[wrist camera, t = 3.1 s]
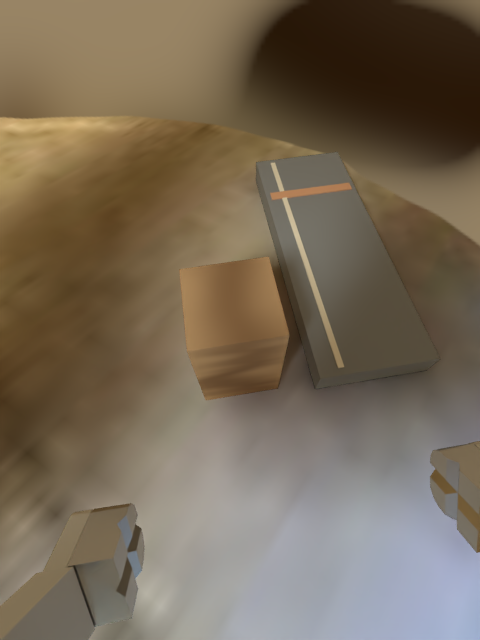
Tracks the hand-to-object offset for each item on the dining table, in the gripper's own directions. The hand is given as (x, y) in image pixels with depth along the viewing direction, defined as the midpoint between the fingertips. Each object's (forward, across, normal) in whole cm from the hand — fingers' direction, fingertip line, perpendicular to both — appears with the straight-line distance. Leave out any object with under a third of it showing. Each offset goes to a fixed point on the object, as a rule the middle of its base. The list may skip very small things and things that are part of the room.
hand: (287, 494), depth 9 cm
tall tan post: (+15, +1, +2) cm, 15 cm away
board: (+21, -8, -3) cm, 23 cm away
